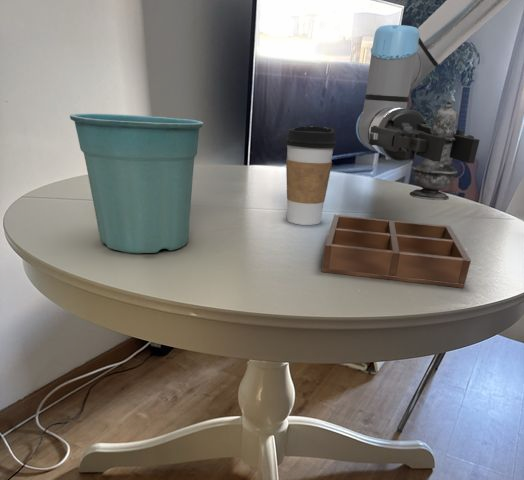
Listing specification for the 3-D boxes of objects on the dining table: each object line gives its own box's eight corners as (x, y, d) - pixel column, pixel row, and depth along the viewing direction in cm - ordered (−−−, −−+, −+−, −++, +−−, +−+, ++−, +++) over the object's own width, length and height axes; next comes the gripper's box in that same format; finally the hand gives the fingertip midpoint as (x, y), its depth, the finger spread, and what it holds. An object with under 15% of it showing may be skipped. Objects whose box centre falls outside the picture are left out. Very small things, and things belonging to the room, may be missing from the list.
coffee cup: (333, 219, 86) (344, 128, 79) (318, 229, 80) (329, 131, 72) (290, 213, 89) (297, 124, 82) (272, 222, 83) (278, 126, 75)
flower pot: (155, 222, 79) (149, 113, 71) (227, 244, 70) (229, 122, 62) (62, 239, 67) (43, 112, 60) (133, 268, 58) (121, 123, 51)
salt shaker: (409, 190, 70) (427, 97, 64) (451, 195, 68) (474, 100, 62) (404, 197, 65) (424, 97, 59) (450, 202, 63) (474, 100, 57)
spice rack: (445, 248, 73) (450, 225, 72) (463, 288, 58) (471, 260, 57) (331, 236, 76) (334, 214, 74) (321, 271, 61) (324, 245, 59)
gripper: (441, 160, 81) (512, 185, 61) (345, 155, 80) (384, 179, 60) (452, 111, 78) (531, 120, 57) (351, 105, 76) (396, 112, 56)
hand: (456, 150), depth 58 cm, fingers closed on salt shaker, 4 cm apart
